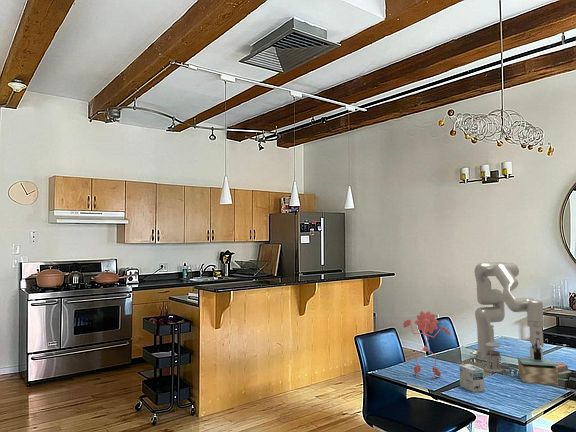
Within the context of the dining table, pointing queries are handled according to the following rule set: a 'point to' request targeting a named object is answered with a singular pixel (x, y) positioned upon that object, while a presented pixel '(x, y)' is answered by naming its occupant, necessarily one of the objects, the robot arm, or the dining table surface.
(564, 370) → the packaged product
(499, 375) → the dining table surface
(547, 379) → the storage box
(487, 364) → the french press
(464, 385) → the light bulb box
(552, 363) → the lid
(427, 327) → the figurine
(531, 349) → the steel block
